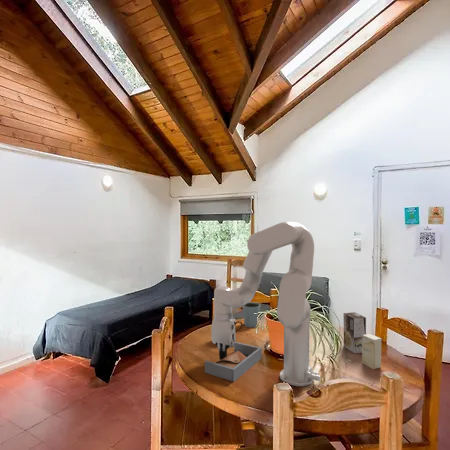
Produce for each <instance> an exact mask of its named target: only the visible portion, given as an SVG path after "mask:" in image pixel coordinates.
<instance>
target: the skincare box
mask: <svg viewBox="0 0 450 450" xmlns="http://www.w3.org/2000/svg"><path fill="white" fill-rule="evenodd" d="M361 355H362V356H361V364H363V365H364V366H366V367H369V368H370V369H373V370H375V369H380V368H381V366H382V338H381V337H379V336H376V335H374V334H371V333H366V334H365V335H363V343H362V353H361Z"/></svg>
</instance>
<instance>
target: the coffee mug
mask: <svg viewBox="0 0 450 450" xmlns="http://www.w3.org/2000/svg"><path fill="white" fill-rule="evenodd" d="M233 320H234V325H235V326H236V325H237V324H238V323H239V324H240V327H239V328H238V329H237V330H235V334H236V333H238V332H239V331H240V330H241V329H242V328H243V322H242V321H236V320H237V319H235V317H234V318H233Z"/></svg>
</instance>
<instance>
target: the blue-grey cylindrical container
mask: <svg viewBox="0 0 450 450" xmlns="http://www.w3.org/2000/svg"><path fill="white" fill-rule="evenodd" d="M242 309H243V325H244V327H246V328H257V327H256V325H257V317H258V314H254V313H258V312H261V304H260V303H258V302H253V301H250V302H249V303H247V304H245V305H244V306H242Z"/></svg>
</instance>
